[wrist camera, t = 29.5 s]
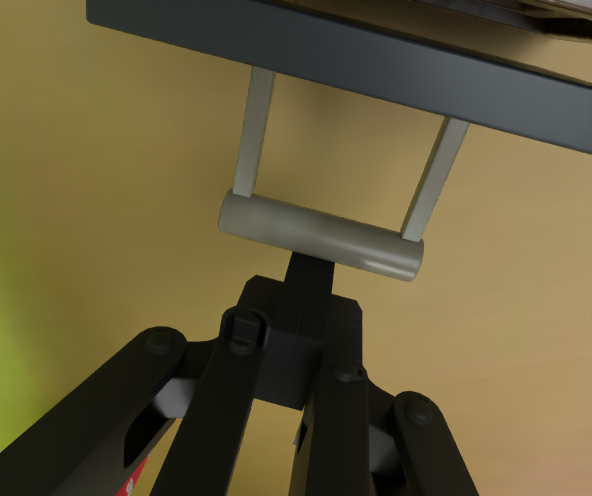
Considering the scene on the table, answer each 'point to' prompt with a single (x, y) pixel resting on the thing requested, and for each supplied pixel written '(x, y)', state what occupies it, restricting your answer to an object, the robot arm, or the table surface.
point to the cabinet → (529, 17)
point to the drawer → (367, 81)
